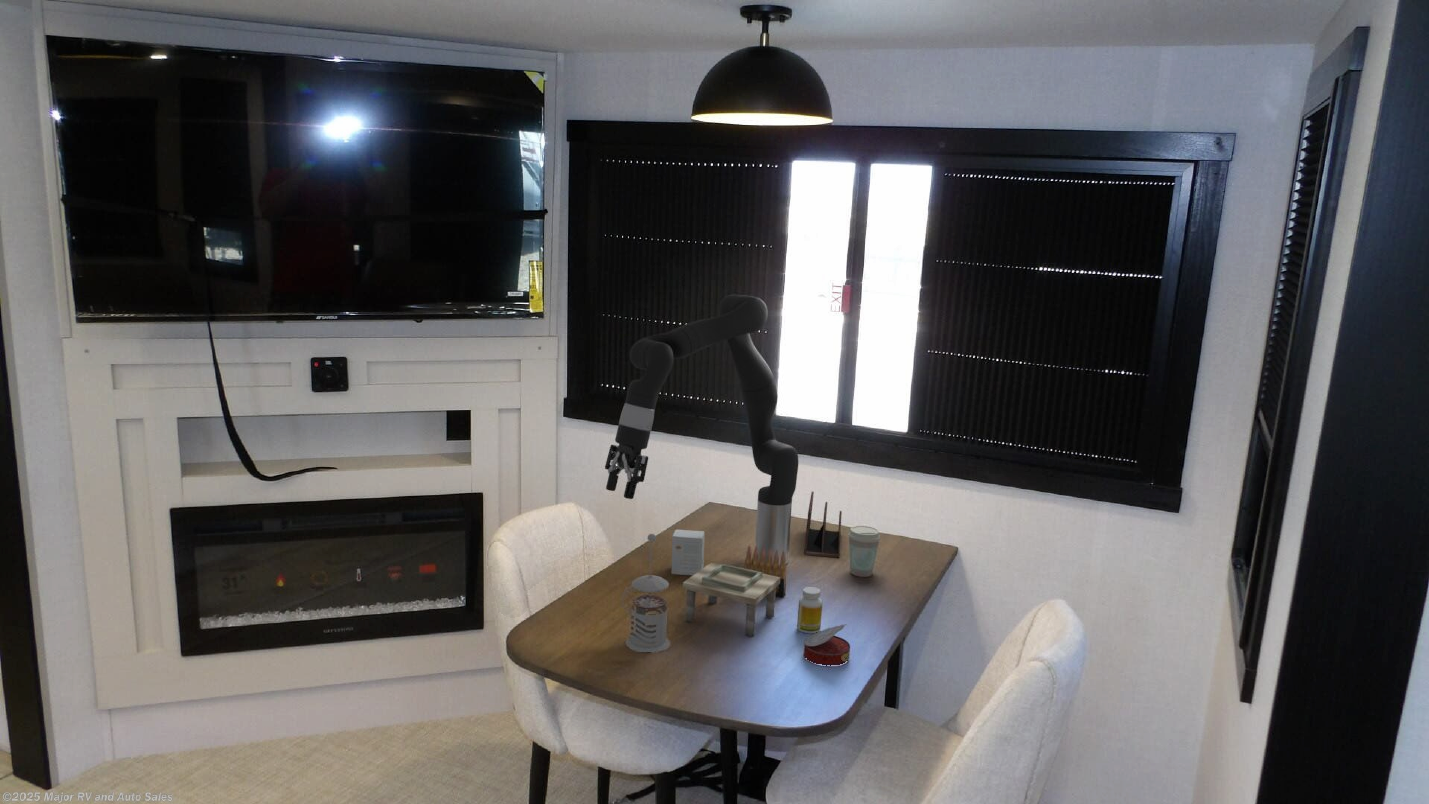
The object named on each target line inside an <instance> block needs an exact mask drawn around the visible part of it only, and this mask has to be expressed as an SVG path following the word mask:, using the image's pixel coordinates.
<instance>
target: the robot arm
mask: <svg viewBox="0 0 1429 804" xmlns="http://www.w3.org/2000/svg"><path fill="white" fill-rule="evenodd" d="M768 312H769V311H768V306H767V305H766V303H765V302H764V301H763V300H762V299H761V298H760V297H757V296H755V295H754V296H753V295H744V294H729V295H726V296H725V297H723V298H722V300H721V301H720V303H719V308H718V315H717V316H714V317H710V318H709V317H708V318H703V319H699V320H696V321H692V322H689V323H686V324H684V325H681V326H679V327H677V328H674V329H672V330H670V331H668V332H662V333H657V334H654V335H650V336H649V335H648V336H646V337H643V338H641V339H639V340H637V341H636V342H635V343H634V344H633V345H632V347H631V348H630V351H629V359H630V362H631V364H632V365H633V366H634V367H635V368H637V369H640V370H644V373H643V375H642V376H641V378H638V379H633V380H631V381H630V383H629V385H628V389H627V393H626V397H625V401H624V405H623V408H622V411H621V413H620V418H619V421H618V427H617V430H616V435H615V439H614V441H615V443H616V444H618V445H616V444H610V446H609V451H608V454H607V459H606V461H605V465H604V469H605V470H607V473H608V478H607V482H606V485H605V488H606V490H607V491H610V492H611V491H612V492H615V491H616V490H617V489H616V488H617V484H618V480H619V477H620V476H619V474H620V473H621V471H623V470H624V473H625V474H626V478H627V481H626V484H625V489H624V493H623V497H624V498H625V499H629V500H632V499H634V496H635V493H636V489H637V485H638V484H639V483H643V482H644V481H645V476H646V473H647V467H648V462H649V456H647V455H643V454H642V450H646V449H647V448H648V445H649V440H650V438H651V437H650V436H651V432H652V427H653V424H654V418H655V410H656V406H657V402H658V399H659V398H658V397H659V394H660V391H661V390H662V388H663V386H664V384H665V382H666V380H667V378H668V376H669V374H670V372H671V370H672V368H673V365H674V360H681V359H683V358H686V357H689V356H690V355H693V354H696V353H697V352H700V351H702V350H704V349H706V348H709V347H710V346H712V345H715V344H718V343H721V342H723V341H726V343H727V346H728V348H729V352H730V354H731V358H732V363H733V366H734V369H735V372H736V376H737V381H738V387H739V391H740V394H741V400H742V402H743V406H744V411H745V414H746V419H747V424H748V429H749V434H750V443H751V450H752V451H751V452H752V458H753V461H754V465H755V467H756V468H757V469H758V470H759V471H760V472H761V473H763V474H766V475H768V476H770V481H769V485H767V486H763V487H760V488H759V490H758V492H757V508H756V524H755V525H756V526H755V539H754V540H755V544H754V548H755V547H757V549H758V563H760V555H761V551H762V548H764V550H765V564H766V563H767V555H768V551H769V549H771V552H772V568H773V563H774V555H775V552H776V550H778V554H779V567H780V562H781V555H782V552H783V551H784V552H785V556H786V565H787V564H788V563H789V551H790V538H791V537H790V535H791V523H792V522H791V521H792V520H791V519H792V507H793V505H792V502H793V496H794V494H795V491H796V489H797V482H798V481H797V479H798V472H799V471H798V470H799V454H798V451H797V450H796V448H795V447H793V446H792V445H790V444H787V443H783V442H780V441H778V440H777V438H776V436H775V432H774V428H773V421H772V420H773V416H774V412H775V410H776V407H777V403H778V399H779V398H778V391H777V390H778V389H777V385H776V382H775V378H774V374H773V371H772V370H771V368H770V367H769V365H768V363H767V362H766V361H765V359H764V357H763V356H762V355H761V353H760V352H759V350H758V349H757V348H756V347H755V344H754V342H753V340H752V337H751V334H752V333H755V332H759V330H761V329H762V328H763V327H764V326H765V324H766V322H767V320H768V314H769V313H768ZM765 567H766V565H765Z"/></svg>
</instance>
